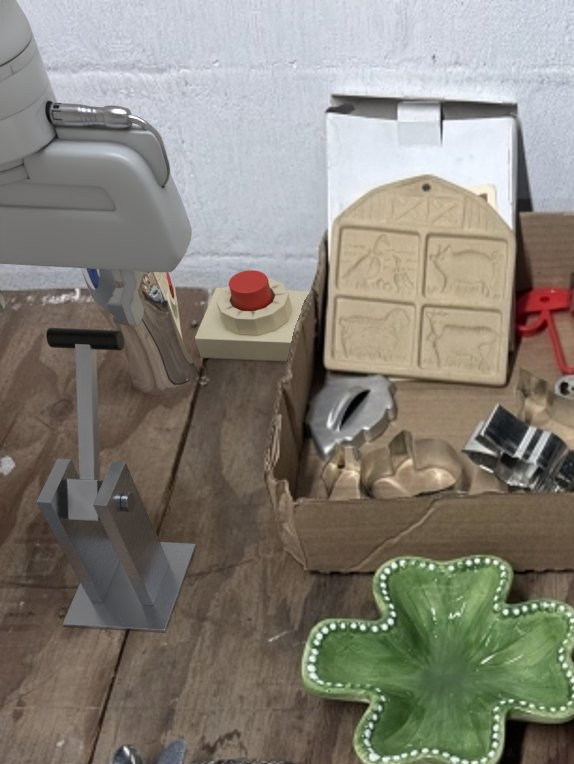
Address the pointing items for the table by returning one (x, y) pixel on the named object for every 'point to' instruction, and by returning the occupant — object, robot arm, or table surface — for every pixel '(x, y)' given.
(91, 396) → the lever
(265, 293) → the button
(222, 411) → the table surface
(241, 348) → the button box
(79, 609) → the bracket
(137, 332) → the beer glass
